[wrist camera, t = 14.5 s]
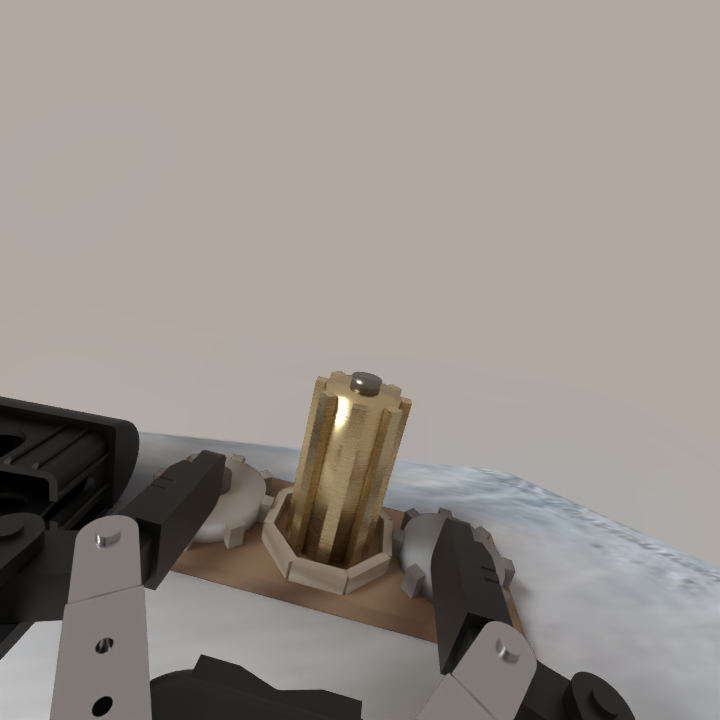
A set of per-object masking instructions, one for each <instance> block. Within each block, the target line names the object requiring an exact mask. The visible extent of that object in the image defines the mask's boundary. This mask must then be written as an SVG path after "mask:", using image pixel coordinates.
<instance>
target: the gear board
mask: <svg viewBox="0 0 720 720" xmlns="http://www.w3.org/2000/svg"><path fill="white" fill-rule="evenodd" d="M198 455H199V454H194V455H190V456H189V457H188V458H187V459H186V460H187V461H190V462H192V461H193V460H194V459H195V458H196V457H197V456H198ZM244 462H245V457H244V456H240V455H236V454H234V455H233V456H232V457H231V459H228V458H226V462H225V469H224V475H223V482H222V488H221V493H220V497H219V500H218V502H217V504H216V506H215V508H214V510H213V511H212V513H211V514H210V515H209V517H208V518H207V519H206V521H205V522H204V524H203V525H202V526H201V528H200V529H199V530H198V532H197V533H196V535H195V536H194V537H193V539H192V540H191V542H190V543H189V544H188V546H187V547H186V548H185V550H184V551H183V553H182V554H181V555H180V557H179V558H178V559H177V561H176V562H175V564H174V565H173V566H172V568H171V569H170V570H173V571H177V572H180V573H184V574H188V575H191V576H195V577H199V578H202V579H206V580H210V581H213V582H217V583H220V584H224V585H228V586H231V587H235V588H239V589H242V590H246V591H250V592H253V593H257V594H261V595H264V596H268V597H271V598H275V599H279V600H282V601H286V602H290V603H293V604H297V605H301V606H304V607H308V608H312V609H315V610H319V611H322V612H326V613H330V614H333V615H337V616H341V617H344V618H348V619H352V620H355V621H359V622H363V623H366V624H370V625H373V626H377V627H381V628H384V629H388V630H392V631H395V632H399V633H403V634H406V635H410V636H414V637H417V638H421V639H424V640H428V641H432V642H435V643H438V641H437V631H436V621H435V611H434V601H433V591H432V581H431V570H430V568H431V558H432V554H433V550H434V548H435V545H436V542H437V540H438V537H439V534H440V532H441V529H442V526H443V524H444V521H445V519H446V518H447V517H449V518H452V519H456V518H453V517H452V512H451V511H450V510H446V509H442V508H440V509H439V512H438V514H435V513H428V514H421V515H420V514H419V513H418V512H417V511H416V510H415V509H414V508H413V509H411V510H408V511H406V512H401V511H397V510H394V509H390V508H386V507H381V511H380V514H379V517H378V521H377V524H376V528H375V531H374V534H373V538H372V541H371V545H370V548H369V552H367V551H362V555H361V558H360V561H359V564H357V565H355V566H353V567H351V568H349V569H346V567H345V566H344V565H343V563H342V564H336V565H325V564H321V563H318V562H315V561H314V560H312V559H310V558H308V557H307V556H305V555H304V554H303V553H300V554H298V555H295V554H294V552H293V551H292V549H291V548H290V546H289V545H288V542H289V537H290V533H291V531H288V530H285V527H286V523H287V518H288V513H289V508H290V503H291V499H292V494H293V489H294V484H295V483H291V482H287V481H284V480H280V479H276V478H273V476H272V475H271V474H270V473H269V471H268V470H265V471H261V472H258V471H257V470H256V469H254V468H253V467H251V466H250V465H248V464H246V463H244ZM165 470H166V469H165V468H161V469H160V470H159V471H158V472H156V473H155V474H154V478H153V481H154V480H155V479H157V478H159V476H160V475H161V474H162V473H163V472H164V471H165ZM456 520H458V519H456ZM459 521H460V520H459ZM471 530H472V534H473V538H474V541H477V542H481V543H483V545H484V546H485V547H486V549H487V550H488V552H489V553H490V554H491V556H492V558H493V562H494V565H495V568H496V573H497V575H498V578H499V581H500V583H499V584H500V585H501V588H502V591H503V594H504V597H505V601H506V604H507V607H508V610H509V614H510V617H511V620H512V623H513V627H514V629H516V630H517V631H518V632H519V633H521V634H522V635H523V636H524V638H525V639H526V637H525V634H524V632H523V629H522V626H521V623H520V620H519V617H518V614H517V611H516V608H515V605H514V602H513V599H512V596H511V593H510V590H509V585H510V582H511V580H512V578H513V576H514V573H515V568H514V566H513V563H512V560H508V559H505V558H501V557H500V555H499V553H498V552H497V550H496V548H495V545H494V542H493V539H492V536H491V534H490V533H489V532H488V531H486V530H485V529H484V528H483V527H481V526H480V527H478V528H476V529H474V528H473V527H471Z"/></svg>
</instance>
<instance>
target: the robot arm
mask: <svg viewBox="0 0 720 720" xmlns="http://www.w3.org/2000/svg"><path fill="white" fill-rule="evenodd" d="M225 462H226V457H225V455H222V454H218V453H214V452H211V451H207V450H203V451H202V452H201V453H200V454H199V455H198V456H197V457H196V458H195V459H194V460H193V461H192V462H190V461H187V460H183V461H180V462H178V463H176V464H174V465H172V466H170V467H168V468H167V469H166V470H165V471H164V472H163V473H162V474H161V475H160V476H159V478H157V479H155V480H154V481H153V482H152V483H151V485H150V486H148V487H147V488H146V489H145V490H144V491H143V492H141V493H140V494H139V495H138V496H137V497H136V498H135V499H134V500H133V501H132V502H131V503H130V504H128V505H127V506H126V507H125V508H124V509H123V510H122V511H121V512H120V513H119V514H118V515H112V516H106V517H102V518H99V519H96V520H94V521H92V522H90V523H89V524H87V525H86V526H84V527H83V528H82V529H81V530H45V522H44V520H43V518H41V517H40V516H39V515H36V514H33V513H13V514H8V515H4V516H1V517H0V660H1V659H2V658H3V657H4V655H5V654H6V653H7V652H8V651H9V650H10V649H11V648H12V647H13V646H14V644H15V643H16V642H17V641H18V640H19V639H20V638H21V637H22V636H23V635H24V634H25V632H26V631H27V630H28V629H29V628H30V627H31V626H32V625H33V624H34V623H35V622H38V621H56V620H63V623H62V630H61V638H60V645H59V653H58V660H57V668H56V675H55V683H54V691H53V698H52V706H51V713H50V720H363V719H361V708H362V701H360V700H356V699H353V698H349V697H346V696H342V695H339V694H336V693H332V692H329V691H325V690H277V689H275V688H273V687H271V686H270V685H268V684H267V683H265V682H264V681H262V680H261V679H259V678H258V677H256V676H255V675H253V674H252V673H250V672H249V671H247V670H246V669H244V668H243V667H241V666H240V665H236V664H233V663H229V662H226V661H222V660H219V659H215V658H212V657H209V656H205V655H202V654H201V656H200V658H199V660H198V662H197V664H196V666H195V668H194V669H190V670H181V671H175V672H172V673H168V674H165V675H162V676H160V677H157V678H155V679H153V680H151V681H150V679H149V662H148V644H147V627H146V610H145V593H144V587H145V588H149V589H152V590H156V588H157V587H158V586H159V584H160V583H161V581H162V580H163V579H164V577H165V576H166V575H167V573H168V572H169V570H170V569H171V568H172V566H173V565H174V564H175V562H176V561H177V559H178V558H179V557H180V555H181V554H182V553H183V551H184V550H185V548H186V547H187V546H188V544H189V543H190V542H191V540H192V539H193V537H194V536H195V535H196V533H197V532H198V530H199V529H200V528H201V526H202V525H203V524H204V522H205V521H206V519H207V518H208V517H209V515H210V514H211V513H212V511H213V510H214V508H215V506H216V504H217V502H218V500H219V497H220V493H221V488H222V482H223V475H224V469H225ZM430 570H431V581H432V591H433V601H434V611H435V621H436V631H437V641H438V652H439V662H440V672H441V674H443V675H446V676H445V678H444V679H443V681H442V682H441V683H440V685H439V686H438V688H437V689H436V690H435V692H434V693H433V695H432V696H431V698H430V699H429V700H428V702H427V703H426V705H425V706H424V708H423V709H422V710H421V712H420V713H419V715H418V716H417V718H416V719H415V720H635V718H634V715H633V713H632V712H631V710H630V708H629V706H628V705H627V703H626V702H625V701H624V699H623V698H622V697H621V696H620V694H619V693H618V692H617V691H616V690H615V689H614V688H613V687H612V686H611V685H609V684H608V683H607V682H606V681H604V680H603V679H601V678H600V677H598V676H596V675H594V674H591V673H588V672H578V673H576V674H575V675H574V676H573V678H572V679H571V681H570V680H568V679H567V678H565V677H563V676H561V675H560V674H558V673H556V672H555V671H553V670H551V669H550V668H548V667H546V666H545V665H543V664H542V663H540V662H539V661H538V660H537V659H536V656H535V653H534V651H533V649H532V647H531V646H530V644H529V643H528V641H527V640H526V639H525V638H524V636H523V635H522V634H521V633H519V632H518V631H517V630H516V629H514V627H513V623H512V620H511V617H510V614H509V610H508V607H507V604H506V601H505V597H504V594H503V591H502V588H501V585H500V584H499V583H500V581H499V578H498V575H497V573H496V568H495V565H494V562H493V558H492V556H491V554H490V553H489V552H488V550H487V549H486V547H485V546H484V545H483V543H481V542H477V541H474V538H473V534H472V530H471V526H470V524H469V523H467V522H463V521H459V520H456V519H452V518H449V517H447V518H446V519H445V521H444V524H443V526H442V529H441V532H440V534H439V537H438V540H437V542H436V545H435V548H434V550H433V554H432V558H431V568H430Z"/></svg>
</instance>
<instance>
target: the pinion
mask: <svg viewBox="0 0 720 720" xmlns="http://www.w3.org/2000/svg"><path fill="white" fill-rule="evenodd" d="M400 394H401V389H400V388H399V387H397V386H395V385H392V384H391V385H386V384H383V383H382V380H381V379H380V378H379V377H377V376H375V375H373V374H370V373H365V372H355V373H353V375H346V374H345V373H343V372H341V371H337V372H331V377H330V378H329V379H328V378H324V377H320V376H319V377H318V378H317V380H316V383H315V389H314V393H313V398H312V403H311V407H310V413H309V417H308V422H307V427H306V432H305V436H304V441H303V446H302V451H301V455H300V460H299V465H298V470H297V475H296V479H295V484H294V489H293V494H292V499H291V503H290V508H289V513H288V518H287V523H286V527H285V530H288V531H291V533H290V537H289V542H288V545H289V546H290V548H291V549H292V551H293V552H294V554H295V555H298V554H300V553H303V554H304V555H305V556H307V557H308V558H310V559H312V560H314V561H315V562H318V563H321V564H325V565H336V564H342V563H343V565H344V566H345V567H346V569H349V568H351V567H353V566H355V565H357V564H359V561H360V558H361V555H362V551H367V552H369V548H370V545H371V541H372V538H373V534H374V531H375V528H376V524H377V521H378V517H379V514H380V511H381V507H382V504H383V500H384V497H385V494H386V490H387V487H388V483H389V480H390V477H391V473H392V470H393V466H394V463H395V460H396V456H397V453H398V449H399V446H400V442H401V439H402V436H403V432H404V429H405V425H406V421H407V418H408V415H409V412H410V408H411V405H412V403H411V399H408V398H404V397H401V396H400Z"/></svg>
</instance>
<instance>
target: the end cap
mask: <svg viewBox="0 0 720 720" xmlns="http://www.w3.org/2000/svg"><path fill="white" fill-rule="evenodd" d="M138 451H139V434H138V431H137V428H136V427H135V426H134V424H133V423H131V422H129V421H126V420H121V419H116V418H110V417H105V416H100V415H94V414H90V413H84V412H78V411H74V410H69V409H63V408H57V407H53V406H48V405H42V404H37V403H32V402H26V401H22V400H16V399H10V398H5V397H1V396H0V517H1V516H4V515H8V514H13V513H33V514H36V515H39V516H40V517H41V518H43V520H44V522H45V530H81V529H82V528H83V527H84V526H86V525H87V524H89V523H90V522H92V521H94V520H96V519H99V518H102V517H103V516H104V515H105V513H106V512H107V511H108V509H110V508H112V507H113V505H114V504H115V503H116V502H117V501H118V499H119V498H120V496H121V495H122V493H123V492H124V490H125V488H126V486H127V484H128V482H129V480H130V478H131V476H132V473H133V471H134V468H135V465H136V461H137V457H138Z"/></svg>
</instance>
